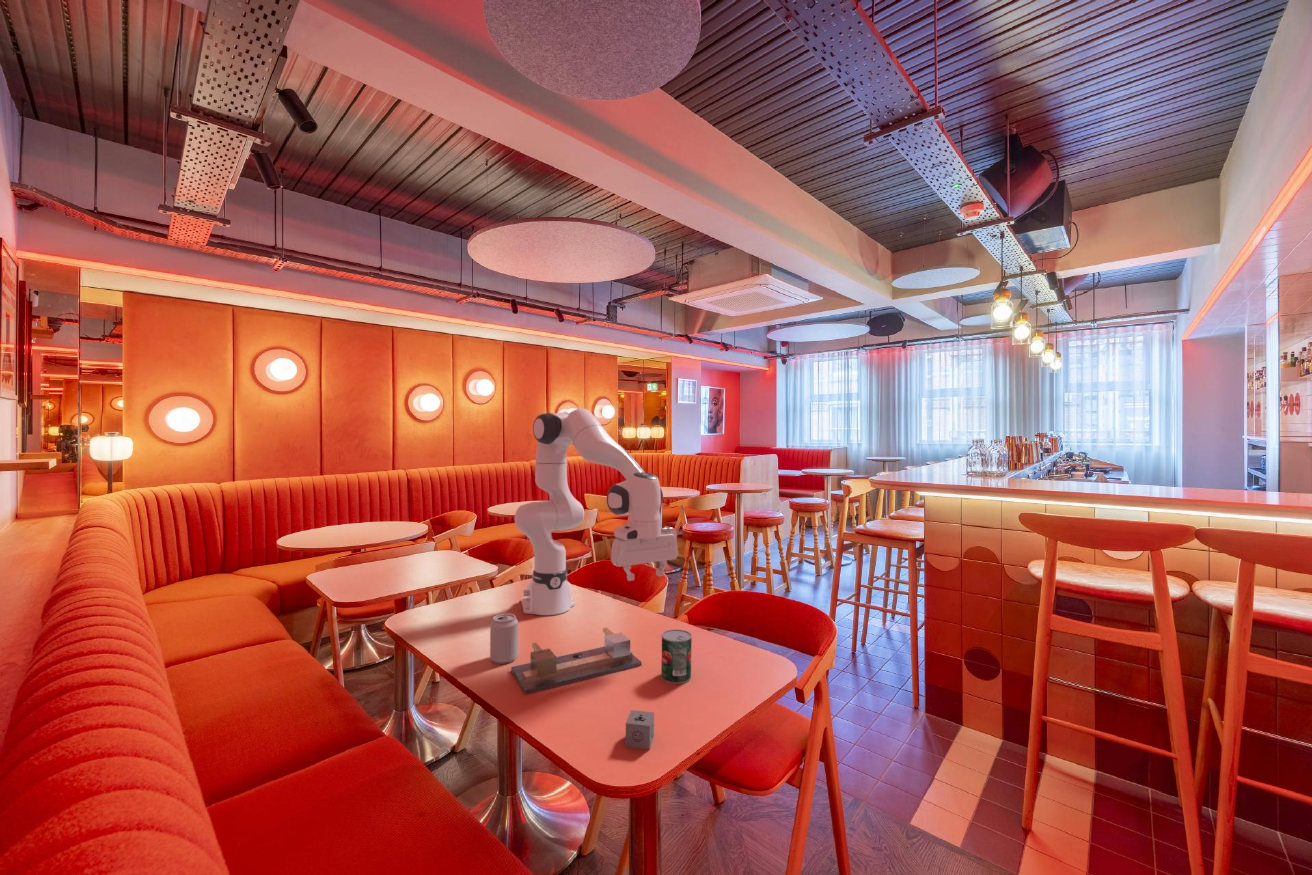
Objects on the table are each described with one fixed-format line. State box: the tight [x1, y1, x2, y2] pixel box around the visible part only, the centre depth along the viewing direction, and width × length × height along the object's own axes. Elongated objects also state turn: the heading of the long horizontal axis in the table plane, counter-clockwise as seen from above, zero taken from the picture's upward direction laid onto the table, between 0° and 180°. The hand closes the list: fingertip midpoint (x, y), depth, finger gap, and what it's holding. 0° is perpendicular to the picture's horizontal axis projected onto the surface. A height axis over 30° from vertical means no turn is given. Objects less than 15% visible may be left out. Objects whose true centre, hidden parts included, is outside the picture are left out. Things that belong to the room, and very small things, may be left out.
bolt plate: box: [510, 642, 643, 695], centre depth 138 cm, size 14×32×6 cm, turn 120°
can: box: [489, 613, 519, 665], centre depth 143 cm, size 8×8×12 cm
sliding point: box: [602, 627, 631, 658], centre depth 145 cm, size 12×5×5 cm, turn 30°
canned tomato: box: [660, 629, 693, 685], centre depth 134 cm, size 8×8×11 cm
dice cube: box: [625, 709, 655, 751], centre depth 106 cm, size 5×5×5 cm
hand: (645, 577), depth 146 cm, fingers open, 8 cm apart
